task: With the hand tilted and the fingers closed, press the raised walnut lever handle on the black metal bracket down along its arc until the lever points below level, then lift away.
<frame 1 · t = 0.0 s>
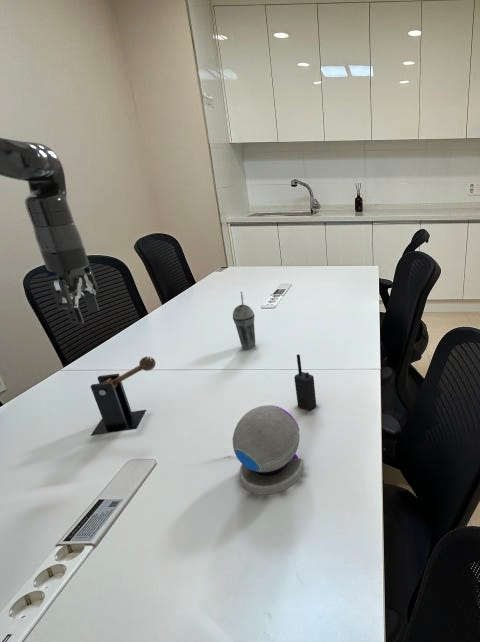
hand: (86, 317, 89), 28 cm above the table, tool pointing down, fingers open, 8 cm apart
bracket: (121, 425, 97), on the table
walkie-talkie: (306, 406, 103), on the table
webcam: (272, 471, 81), on the table
lever: (127, 374, 92), point 14 cm above the table, hinge at 25.0°
beverage cup: (248, 347, 138), on the table
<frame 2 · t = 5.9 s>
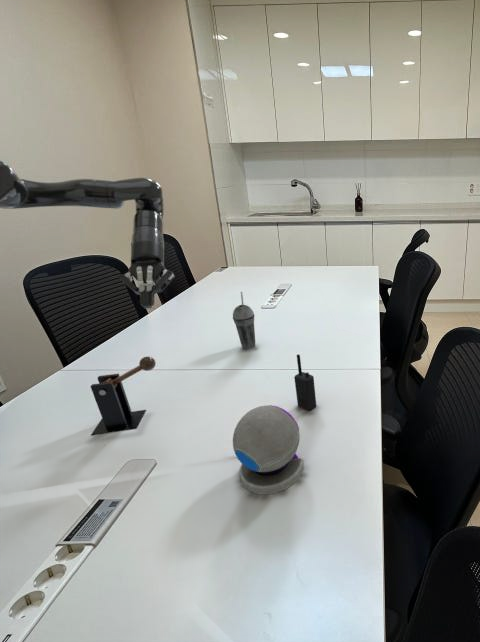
hand: (146, 307, 96), 27 cm above the table, tool tilted 45°, fingers closed
nothing on the table moved.
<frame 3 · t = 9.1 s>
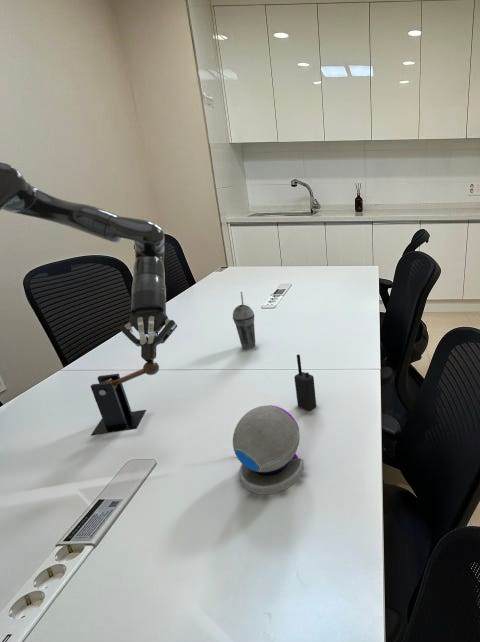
hand: (148, 360, 92), 17 cm above the table, tool tilted 45°, fingers closed
lever: (129, 376, 93), point 13 cm above the table, hinge at 17.8°, touching gripper
everything else where it was.
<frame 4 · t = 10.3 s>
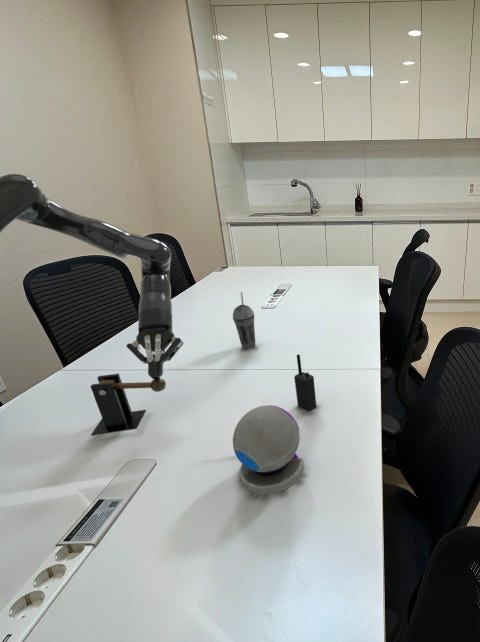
hand: (155, 377, 94), 12 cm above the table, tool tilted 45°, fingers closed
lever: (133, 385, 94), point 11 cm above the table, hinge at -7.4°, touching gripper
everything else where it was.
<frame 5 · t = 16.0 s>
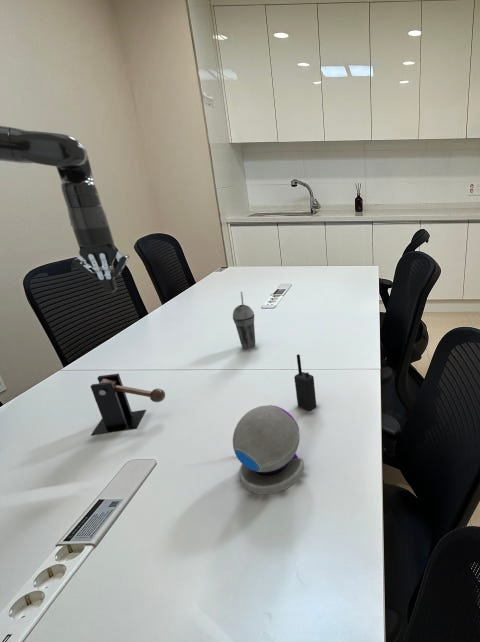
hand: (111, 292, 103), 29 cm above the table, tool pointing down, fingers closed
lever: (133, 391, 94), point 9 cm above the table, hinge at -23.3°
everything else where it was.
at the end: lever at -23° (first picture: +25°) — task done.
